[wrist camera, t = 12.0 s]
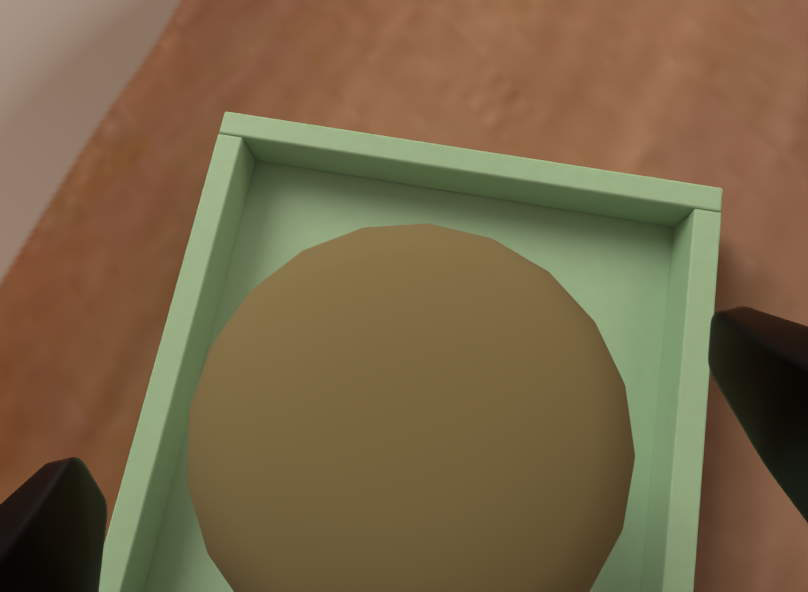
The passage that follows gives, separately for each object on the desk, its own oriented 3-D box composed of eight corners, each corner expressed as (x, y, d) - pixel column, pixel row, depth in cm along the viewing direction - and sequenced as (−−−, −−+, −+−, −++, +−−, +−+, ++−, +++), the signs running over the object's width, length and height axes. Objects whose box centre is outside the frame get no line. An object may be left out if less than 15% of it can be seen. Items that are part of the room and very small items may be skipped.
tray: (639, 827, 15) (672, 883, 13) (96, 703, 16) (49, 737, 14) (691, 216, 19) (724, 187, 17) (244, 145, 20) (224, 109, 18)
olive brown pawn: (482, 617, 16) (598, 933, 5) (261, 512, 17) (-26, 601, 6) (568, 388, 17) (803, 271, 7) (359, 300, 18) (266, 66, 7)
